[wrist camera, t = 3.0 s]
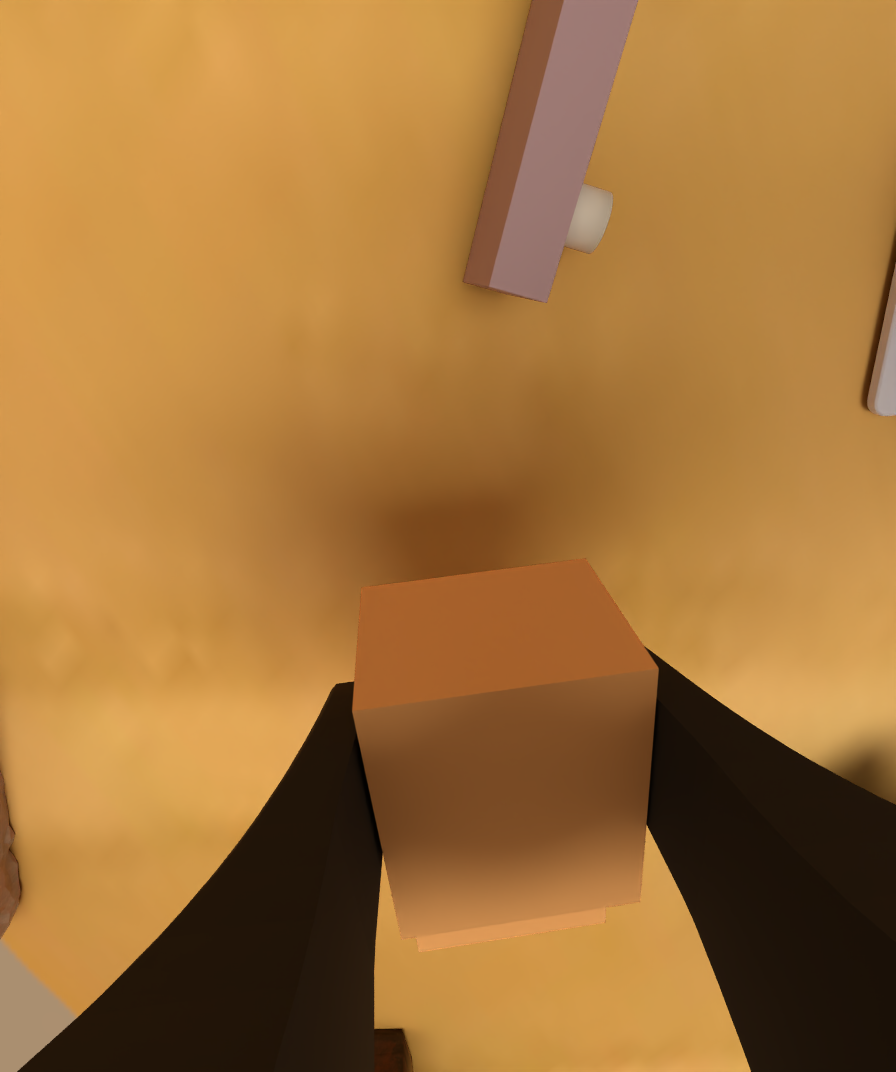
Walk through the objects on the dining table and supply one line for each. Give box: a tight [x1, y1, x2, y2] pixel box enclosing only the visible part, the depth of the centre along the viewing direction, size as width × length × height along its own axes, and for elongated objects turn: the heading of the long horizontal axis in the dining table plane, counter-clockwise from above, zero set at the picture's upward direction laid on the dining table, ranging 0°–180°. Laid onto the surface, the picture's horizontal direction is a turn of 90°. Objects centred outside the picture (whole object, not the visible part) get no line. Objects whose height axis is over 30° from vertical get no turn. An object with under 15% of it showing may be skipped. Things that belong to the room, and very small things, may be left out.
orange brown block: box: [352, 558, 659, 952], centre depth 12 cm, size 4×9×4 cm, turn 5°
